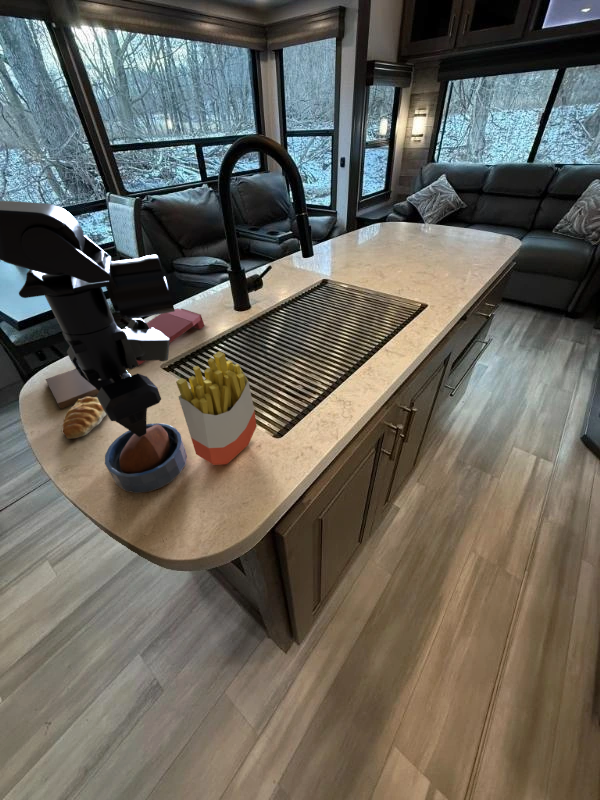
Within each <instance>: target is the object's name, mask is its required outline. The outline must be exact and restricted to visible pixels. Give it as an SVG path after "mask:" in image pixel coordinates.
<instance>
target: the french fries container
mask: <svg viewBox="0 0 600 800" xmlns="http://www.w3.org/2000/svg"><path fill="white" fill-rule="evenodd" d="M212 356H213V358H212V357H209V359H207V364H208V367H206V369H204V376H203V373H202V371H201V367H200V366H199V365H196V366H193V367H192V370H193V374H194V375H192V376H190V377H188V380H187V379H185V378H183V377H180V378H179V379H178V380H176V381H175V383H176V386H177V388H178V391H179V393H180V395H179V396H178V400H179V403H180V406H181V407H180V408H181V411H182V413H183V416H184V419H185V423H186V426H187V430H188V433H189V436H190V440H191V443H192V445H193V449H194V452H195V455H196V456H198V457H200V458H201V459H202V460H205V461H206V462H208V463H210V464H211V465H213V466H216V465H228V464H229V463H230V462H232V460H234V459H235V458H236V457H237V456H238V455H239V454H241V452H242V451H244V449H246V448H247V447H248V446H249V444H250V443H251V440H252V438H253V435H254V433H255V431H256V429H257V427H258V426H257V419H256V411H255V406H254V401H253V397H252V392H251V388H250V382H249V379H248V378H247V376H246V375H245V373H244V371H243V369H242V368H241V365H240V364H239V363H236V364H235V363H234V362H233V361H232V360H230V359H227V357H226V353H224V352H222V351H220V350H219V351H217V352H216V353H214V354H213V355H212ZM204 378H205V379H204ZM188 382H189V383H188ZM189 386H190V387H189Z"/></svg>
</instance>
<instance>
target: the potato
mask: <svg viewBox="0 0 600 800" xmlns="http://www.w3.org/2000/svg"><path fill="white" fill-rule="evenodd" d="M169 450H170V440H169V436H168V434H167V432H166V430H165V429H164V428H163V427H162V426H161V425H158V424H157V425H154V426H152V427H150V428H148V429H147V433H146V434H145V435H143V436H141V437H139V436H137V435H136V434H133V435H132V437H131V438H130V439H129V441H128V442H127V444H126V445H125V447H124V448H123V450H122V452H121V454H120V458H119V460H120V468H121V470H122V471H123V473H126V474H135V473H142V472H145V471H149V470H152V469H154V468H156V467H158V466H159V465H160V464H161V463H162V462H163V461H164V460H165V459H166V457H167V456H168V454H169Z"/></svg>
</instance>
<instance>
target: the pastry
mask: <svg viewBox="0 0 600 800" xmlns="http://www.w3.org/2000/svg"><path fill="white" fill-rule="evenodd" d="M106 416H107V414H106V413H105V411H104V409H103V408H102V406H101V404H100V402H99V400H98V398H97V397H96V396H93V397H84V398H82V399H78V401H77V402H76V403H75V404H73V406H71V407H69V409H68V410H67V412H66V414H65V416H64V419H63V424H62V433H63V434H64V436H65V437H66V439H68V440H69V439H78V438H81V437H82V438H83V437H84V436H86V435H88V434H89V433H91V431H92V430H94V429H95V428H97V426H99V424H100V423H101V422H102V421H103V420H104V417H106Z"/></svg>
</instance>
